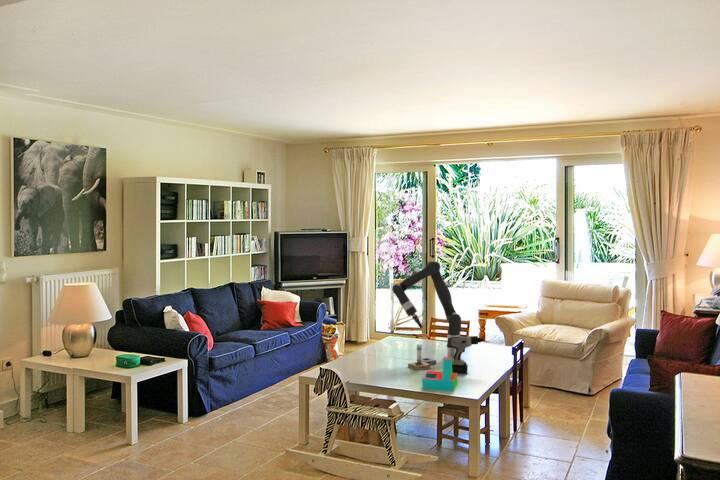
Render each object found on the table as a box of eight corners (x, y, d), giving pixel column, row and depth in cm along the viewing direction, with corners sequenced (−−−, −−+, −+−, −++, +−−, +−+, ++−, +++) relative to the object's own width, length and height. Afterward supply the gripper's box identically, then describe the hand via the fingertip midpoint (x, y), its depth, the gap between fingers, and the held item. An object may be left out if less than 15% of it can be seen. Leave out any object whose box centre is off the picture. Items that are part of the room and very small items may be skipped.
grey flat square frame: (428, 360, 443) (428, 357, 443) (436, 363, 434) (436, 360, 434) (416, 362, 438) (416, 358, 438) (424, 365, 429) (424, 361, 429)
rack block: (422, 365, 430) (422, 361, 430) (430, 368, 421) (430, 364, 421) (408, 366, 424) (408, 363, 424) (415, 370, 415) (415, 366, 415)
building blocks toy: (458, 381, 389) (458, 352, 388) (453, 391, 365) (453, 361, 364) (428, 378, 394) (429, 350, 393) (422, 389, 370) (422, 359, 369)
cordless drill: (483, 375, 403) (483, 337, 402) (446, 372, 408) (446, 335, 407) (483, 372, 411) (483, 335, 410) (446, 370, 416) (447, 333, 415)
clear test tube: (419, 366, 425) (420, 343, 424) (422, 367, 422) (422, 344, 421) (415, 367, 423) (415, 344, 423) (418, 368, 420) (418, 345, 420)
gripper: (413, 304, 437) (425, 323, 433) (414, 306, 451) (426, 325, 447) (404, 310, 438) (416, 329, 433) (405, 312, 451) (417, 331, 447)
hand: (421, 327), depth 440 cm, fingers open, 8 cm apart
